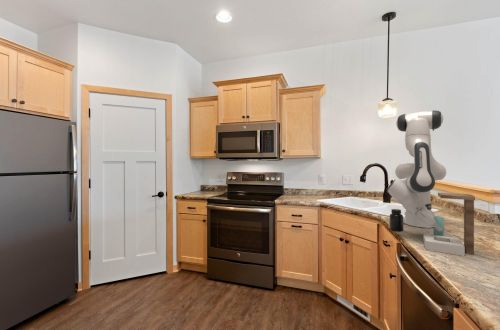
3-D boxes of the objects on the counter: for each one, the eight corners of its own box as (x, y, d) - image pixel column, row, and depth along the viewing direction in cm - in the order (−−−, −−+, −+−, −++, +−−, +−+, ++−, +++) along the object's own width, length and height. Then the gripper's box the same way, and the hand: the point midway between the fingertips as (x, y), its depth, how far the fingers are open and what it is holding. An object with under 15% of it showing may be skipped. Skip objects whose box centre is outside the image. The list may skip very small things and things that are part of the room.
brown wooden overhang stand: (437, 244, 110) (437, 192, 110) (469, 249, 104) (469, 194, 104) (441, 251, 102) (440, 194, 102) (475, 256, 96) (475, 196, 96)
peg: (433, 239, 118) (433, 215, 118) (443, 240, 116) (443, 216, 116) (434, 241, 115) (434, 217, 115) (444, 242, 113) (444, 218, 113)
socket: (423, 241, 115) (423, 233, 115) (458, 246, 108) (458, 238, 108) (425, 249, 104) (425, 240, 104) (464, 256, 97) (464, 246, 97)
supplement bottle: (398, 228, 138) (398, 208, 138) (406, 231, 131) (406, 210, 131) (387, 228, 138) (387, 208, 138) (394, 231, 131) (394, 210, 131)
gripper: (422, 205, 111) (449, 229, 105) (419, 200, 128) (442, 220, 122) (411, 213, 113) (436, 237, 108) (410, 207, 130) (432, 227, 125)
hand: (440, 228), depth 115 cm, fingers open, 8 cm apart
